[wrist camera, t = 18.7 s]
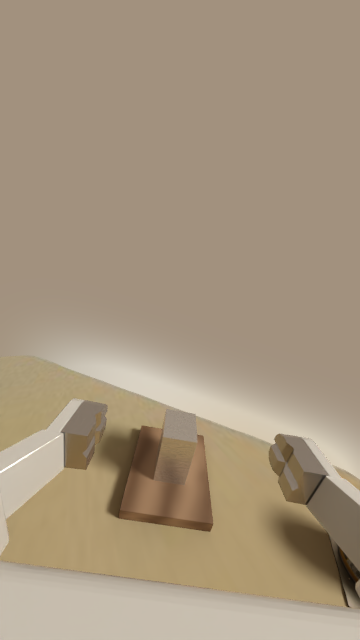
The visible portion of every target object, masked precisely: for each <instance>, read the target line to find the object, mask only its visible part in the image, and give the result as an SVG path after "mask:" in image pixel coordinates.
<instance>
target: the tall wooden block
mask: <svg viewBox="0 0 360 640" xmlns="http://www.w3.org/2000/svg"><path fill="white" fill-rule="evenodd" d="M197 443H198V442H197V429H196V416H195V414H192V413H186V412H180V411H174V410H169V409H166V413H165V418H164V423H163V427H162V432H161V437H160V441H159V446H158V452H157V459H156V466H155V473H154V480H155V481H162V482H168V483H174V484H181V485H185V482H186V479H187V476H188V472H189V469H190V466H191V463H192V459H193V456H194V453H195V449H196V446H197Z"/></svg>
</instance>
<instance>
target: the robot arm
mask: <svg viewBox="0 0 360 640" xmlns="http://www.w3.org/2000/svg"><path fill="white" fill-rule="evenodd" d="M106 412H107V405H106V404H101V403H96V402H91V401H86V400H80V399H75V398H74V399H72V400H71V401H70V402H69V403H68V404H67V405H66V407H65V408H64V409H63V410H62V411H61V412H60V414H59V415H58V416H57V417H56V418H55V420H54V421H53V422H52V423H51V424H50V425H49V427H48V428H47V429H46V430H40V431H38V432H36V433H35V434H33V435H31V436H29V437H27V438H25V439H23V440H22V441H20V442H18V443H16V444H14V445H12V446H10V447H9V448H7V449H5V450H3V451H1V452H0V555H1V553H2V552H3V550H4V548H5V547H6V545H7V544H8V542H9V533H8V527H7V522H6V519H7V518H8V517H9V516H10V515H11V514H13V513H14V512H15V511H16V510H17V509H18V508H19V507H21V506H22V505H23V504H24V503H25V502H26V501H27V500H29V499H30V498H31V497H32V496H33V495H34V494H35V493H37V492H38V491H39V490H40V489H41V488H42V487H44V486H45V485H46V484H47V483H48V482H49V481H50V480H52V479H53V478H54V477H55V476H56V475H57V474H58V473H60V472H61V471H62V470H63V469H64V467H66V468H74V469H83V470H86V469H87V467H88V465H89V462H90V460H91V458H92V456H93V454H94V450H95V445H96V444H97V443H99V442H100V440H101V437H102V435H103V432H104V429H105V426H106V417H105V414H106ZM275 442H276V443H275V444H274V445H272V446H271V447H270V450H269V461H270V465H271V467H272V469H273V471H274V472H275V473H276V474H277V475H278V476H279V478H278V483H279V485H280V488H281V490H282V492H283V495H284V497H285V499H286V501H288V502H293V503H299V504H304V505H307V506H306V507H307V508H308V509H309V510H310V512H311V513H312V514H313V515H314V516H315V518H316V519H317V520H318V521H319V523H320V524H321V525H322V526H323V527H324V529H325V530H326V531H327V532H328V534H329V535H330V536H331V537H332V538H333V540H334V541H335V542H336V543H337V545H338V546H339V547H340V548H341V549H342V551H343V552H344V553H345V554H346V556H347V557H348V558H349V559H350V560H351V562H352V563H353V564H354V565H355V567H356V568H357V569H358V570H359V571H360V491H359V490H358V489H357V488H356V487H354V486H353V485H352V484H351V483H349V482H348V481H347V480H346V479H342V478H341V477H340V475H339V474H338V473H337V471H336V470H335V469H334V467H333V466H332V465H331V463H330V462H329V461H328V459H327V458H326V457H325V455H324V454H323V453H322V451H321V450H320V449H319V447H318V446H317V445H316V443H315V442H314V441H313V440H311V439H309V438H302V437H297V436H290V435H284V434H278V435H276V437H275ZM355 589H356V591H357V593H358V595H359V597H360V580H359V581H358V582H357V583H356V586H355ZM0 640H360V609H358V608H350V607H343V606H336V605H328V604H321V603H313V602H306V601H298V600H291V599H283V598H276V597H269V596H261V595H254V594H246V593H239V592H231V591H224V590H217V589H209V588H202V587H194V586H187V585H179V584H172V583H165V582H157V581H150V580H142V579H135V578H127V577H120V576H112V575H105V574H97V573H90V572H83V571H75V570H68V569H60V568H53V567H45V566H38V565H30V564H23V563H15V562H8V561H1V560H0Z"/></svg>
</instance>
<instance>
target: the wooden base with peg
mask: <svg viewBox="0 0 360 640" xmlns="http://www.w3.org/2000/svg"><path fill="white" fill-rule="evenodd" d="M161 432H162V429H159V428H153V427H147V426H142V427H141V431H140V434H139V438H138V442H137V446H136V450H135V454H134V457H133V461H132V465H131V469H130V473H129V476H128V480H127V484H126V488H125V492H124V495H123V499H122V503H121V507H120V511H119V518H121V519H127V520H134V521H141V522H148V523H155V524H161V525H168V526H175V527H182V528H189V529H196V530H202V531H209V532H210V530H211V528H212V526H213V517H212V509H211V500H210V491H209V482H208V473H207V465H206V456H205V447H204V438H203V436H201V435H197V442H198V443H197V446H196V449H195V453H194V456H193V459H192V463H191V466H190V469H189V472H188V476H187V479H186V482H185V485H181V484H174V483H168V482H162V481H155V480H154V473H155V466H156V459H157V452H158V446H159V441H160V437H161Z"/></svg>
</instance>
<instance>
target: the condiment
mask: <svg viewBox="0 0 360 640" xmlns="http://www.w3.org/2000/svg"><path fill="white" fill-rule="evenodd" d="M329 537H330V540H331V544H332V548H333V551H334V555H335V558H336V562H337V565H338V568H339V573H340V576H341V580H342V584H343V587H344V590H345V593H346V597H347V601H348V605H349V606H350V607H351V608H358V609H360V597H359V595H358V593H357V591H356V589H355V586H356V583H357V582H358V581H359V580H360V571H359V570H358V569H357V568H356V567H355V565H354V564H353V563H352V562H351V560H350V559H349V558H348V557H347V556H346V554H345V553H344V552H343V551H342V549H341V548H340V547H339V546H338V545H337V543H336V542H335V541H334V540H333V538H332V537H331V536H330V535H329ZM349 578H350V579H349Z"/></svg>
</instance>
